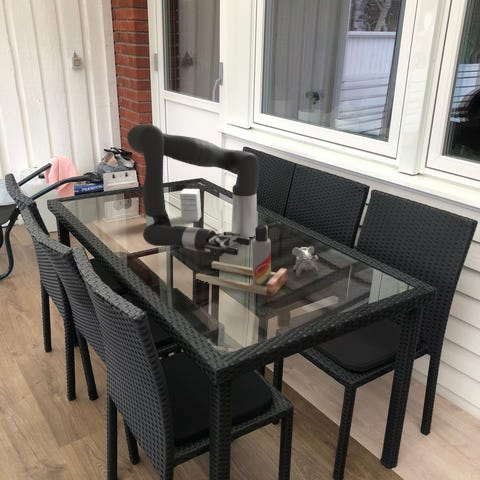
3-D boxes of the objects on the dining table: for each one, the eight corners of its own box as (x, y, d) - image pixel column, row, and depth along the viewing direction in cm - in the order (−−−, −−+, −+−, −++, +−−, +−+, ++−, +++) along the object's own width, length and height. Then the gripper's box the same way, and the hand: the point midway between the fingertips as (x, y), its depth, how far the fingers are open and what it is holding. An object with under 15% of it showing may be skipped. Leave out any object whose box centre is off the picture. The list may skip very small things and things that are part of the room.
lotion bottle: (269, 289, 158) (269, 229, 150) (251, 287, 159) (250, 228, 151) (271, 281, 163) (271, 222, 156) (254, 279, 164) (253, 222, 157)
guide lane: (214, 266, 175) (213, 255, 173) (287, 280, 163) (287, 269, 162) (196, 280, 165) (195, 269, 163) (272, 296, 153) (272, 284, 152)
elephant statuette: (300, 280, 164) (301, 259, 161) (281, 264, 174) (282, 244, 171) (324, 274, 168) (326, 253, 165) (304, 259, 178) (306, 239, 174)
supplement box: (185, 215, 225) (183, 188, 220) (201, 216, 224) (200, 188, 219) (181, 221, 218) (179, 193, 213) (198, 222, 217) (196, 193, 212)
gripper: (187, 236, 159) (233, 243, 152) (209, 221, 170) (253, 228, 164) (188, 258, 161) (234, 266, 155) (210, 242, 173) (253, 249, 166)
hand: (243, 246), depth 159 cm, fingers open, 8 cm apart
